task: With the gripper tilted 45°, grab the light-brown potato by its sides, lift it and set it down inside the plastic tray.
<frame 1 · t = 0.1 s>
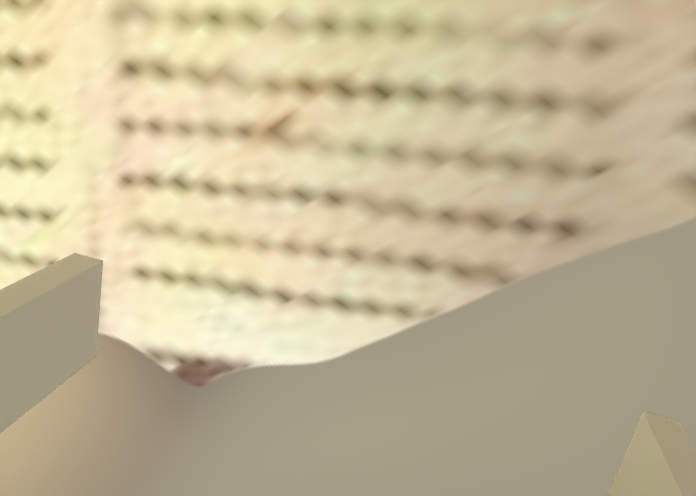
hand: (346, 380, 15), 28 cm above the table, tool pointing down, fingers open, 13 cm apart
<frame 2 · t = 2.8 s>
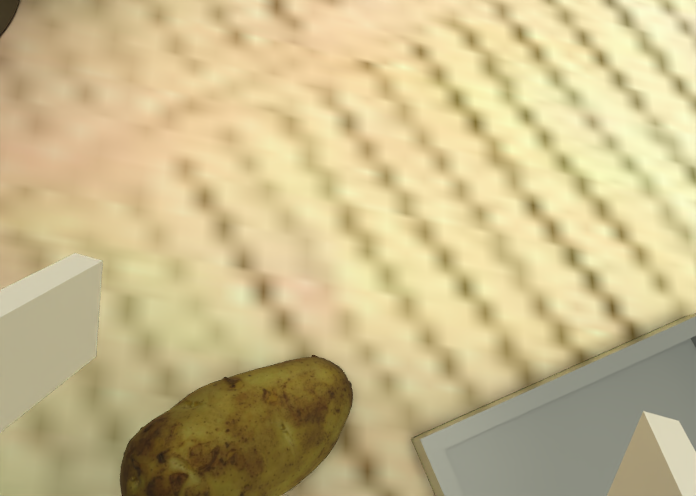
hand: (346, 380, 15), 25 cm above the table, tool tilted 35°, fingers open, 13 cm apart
potato: (255, 442, 38), on the table
tray: (610, 490, 38), on the table
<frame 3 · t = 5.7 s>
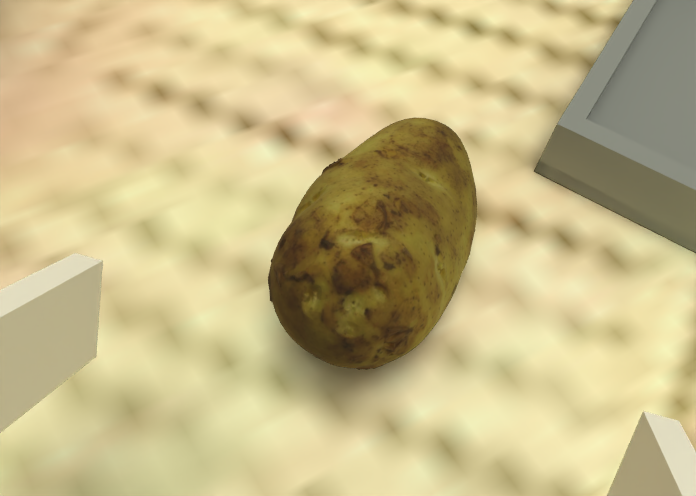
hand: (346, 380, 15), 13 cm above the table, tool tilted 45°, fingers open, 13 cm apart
potato: (386, 270, 30), on the table
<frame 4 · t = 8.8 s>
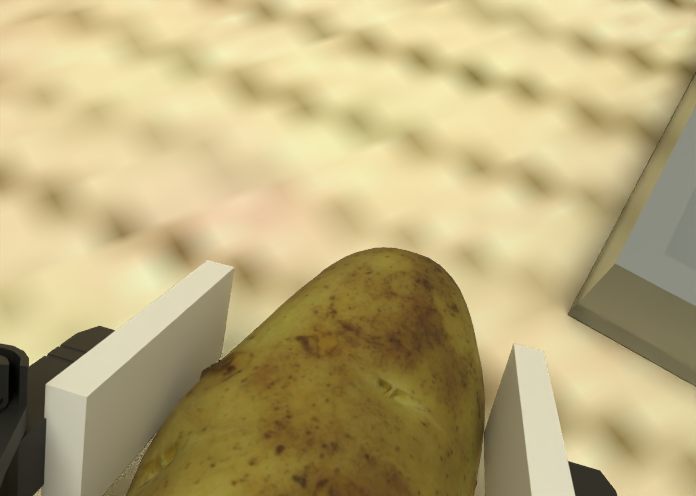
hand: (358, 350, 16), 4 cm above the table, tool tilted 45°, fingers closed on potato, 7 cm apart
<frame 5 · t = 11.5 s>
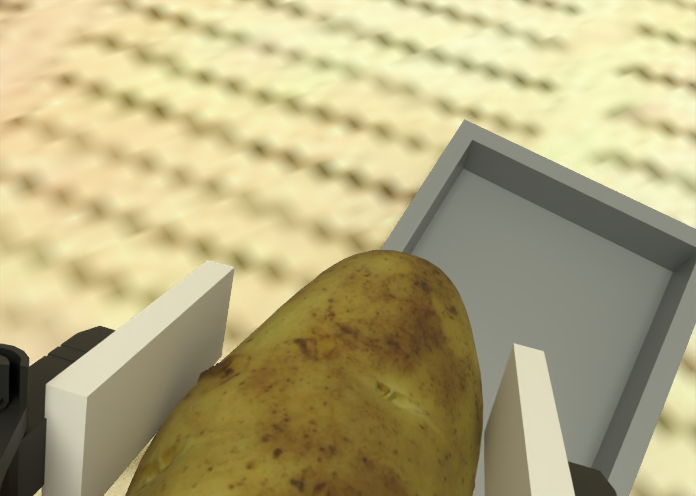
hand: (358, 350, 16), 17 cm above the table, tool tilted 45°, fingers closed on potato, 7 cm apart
tray: (492, 353, 33), on the table
when the fingers open (6 cm above the table, at t = 14.6 s): potato drops 1 cm, resting on tray.
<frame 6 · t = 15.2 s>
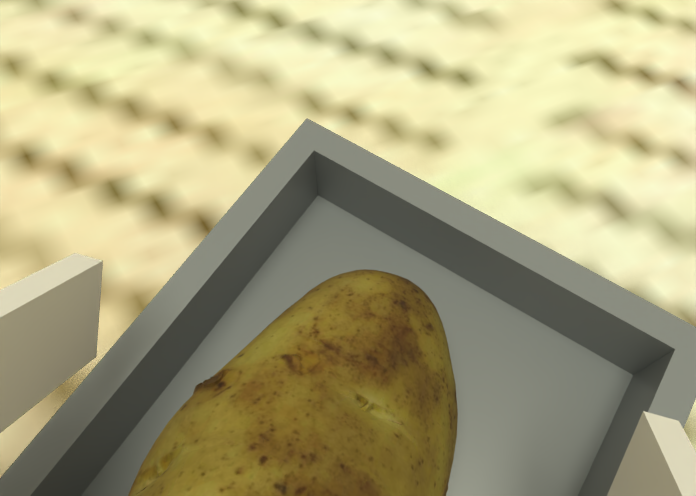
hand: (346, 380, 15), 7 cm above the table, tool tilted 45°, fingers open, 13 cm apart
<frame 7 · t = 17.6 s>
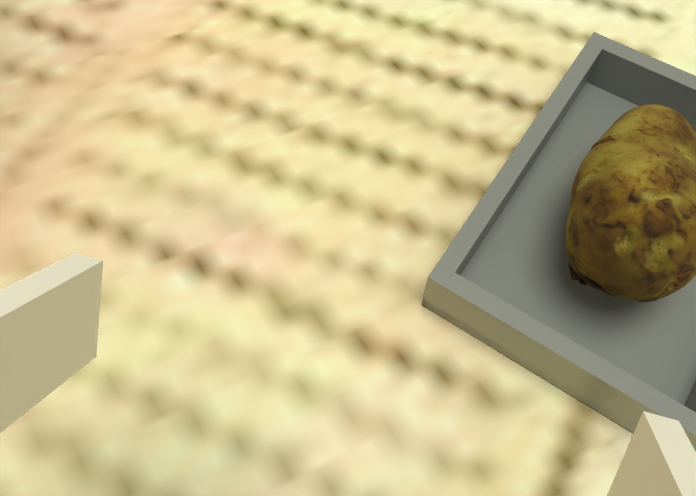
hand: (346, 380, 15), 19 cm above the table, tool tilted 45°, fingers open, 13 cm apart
potato: (618, 232, 36), point 1 cm above the table, touching tray
tray: (617, 239, 37), on the table
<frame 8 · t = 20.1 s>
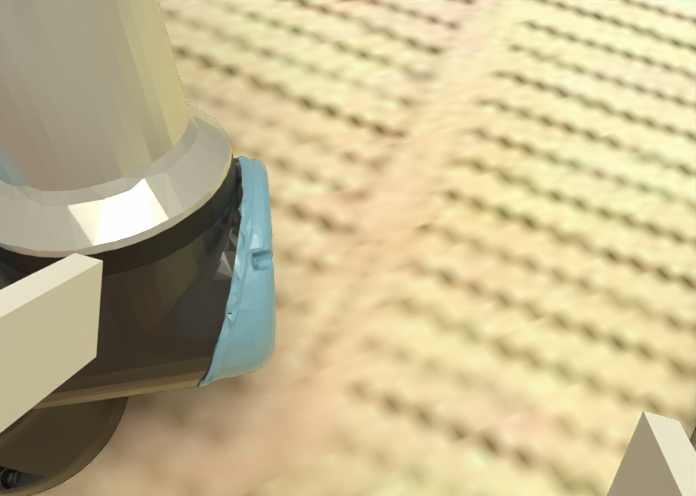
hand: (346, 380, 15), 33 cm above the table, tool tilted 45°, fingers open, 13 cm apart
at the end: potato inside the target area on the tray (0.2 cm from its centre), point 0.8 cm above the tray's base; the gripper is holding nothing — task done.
